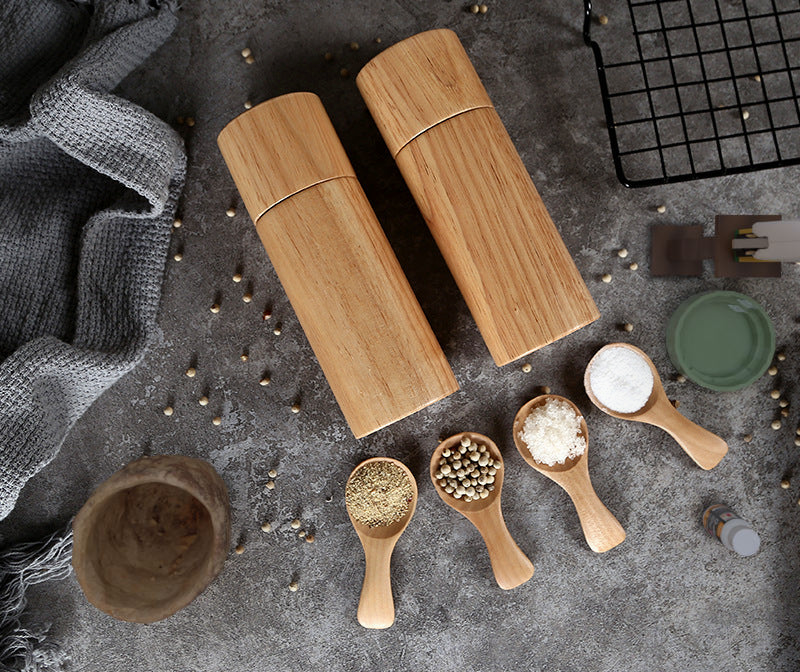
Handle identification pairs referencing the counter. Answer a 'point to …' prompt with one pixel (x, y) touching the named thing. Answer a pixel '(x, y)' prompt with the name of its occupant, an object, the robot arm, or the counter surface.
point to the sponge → (748, 259)
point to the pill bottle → (731, 530)
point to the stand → (707, 249)
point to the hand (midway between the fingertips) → (757, 245)
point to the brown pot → (152, 537)
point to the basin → (720, 340)
